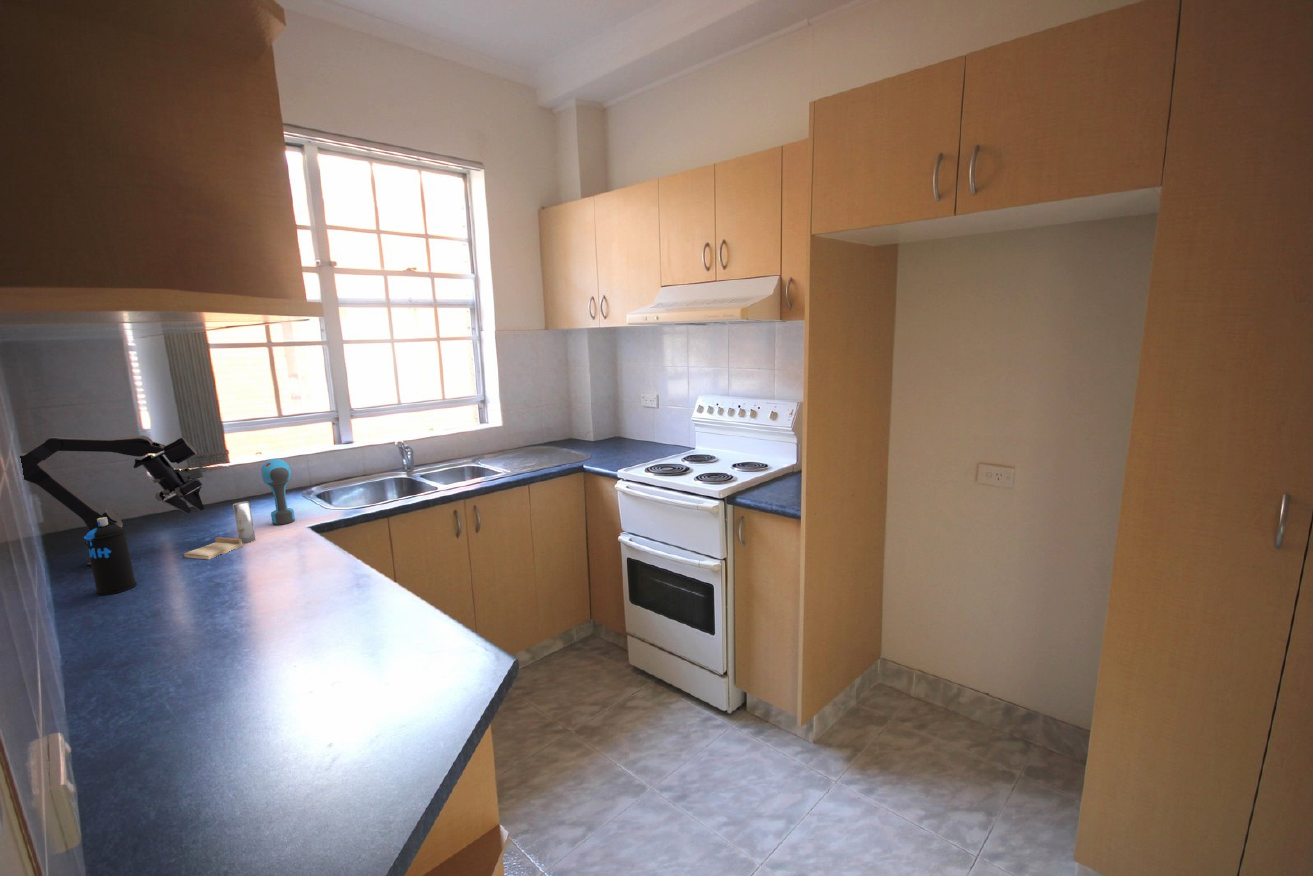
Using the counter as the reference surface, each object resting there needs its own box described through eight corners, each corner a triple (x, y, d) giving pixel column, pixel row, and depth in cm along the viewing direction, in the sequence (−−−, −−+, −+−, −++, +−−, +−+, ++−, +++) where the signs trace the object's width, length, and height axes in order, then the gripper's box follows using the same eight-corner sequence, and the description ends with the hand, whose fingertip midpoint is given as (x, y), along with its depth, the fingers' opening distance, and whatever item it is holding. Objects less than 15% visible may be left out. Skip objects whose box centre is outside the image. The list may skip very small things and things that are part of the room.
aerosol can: (124, 581, 163) (110, 512, 159) (144, 584, 160) (130, 514, 157) (88, 593, 155) (72, 522, 151) (109, 597, 152) (93, 524, 149)
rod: (246, 543, 190) (239, 505, 188) (235, 543, 191) (229, 505, 189) (258, 539, 194) (252, 501, 192) (248, 538, 196) (242, 501, 193)
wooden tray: (208, 559, 177) (207, 551, 177) (184, 557, 180) (183, 549, 180) (242, 546, 188) (241, 538, 187) (219, 544, 190) (217, 537, 190)
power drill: (262, 514, 223) (253, 455, 219) (288, 509, 229) (280, 451, 225) (273, 531, 202) (263, 466, 198) (302, 525, 208) (292, 461, 204)
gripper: (201, 453, 185) (233, 493, 191) (175, 461, 194) (206, 499, 200) (165, 473, 176) (200, 514, 182) (139, 480, 185) (173, 519, 191)
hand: (196, 511), depth 189 cm, fingers open, 9 cm apart
